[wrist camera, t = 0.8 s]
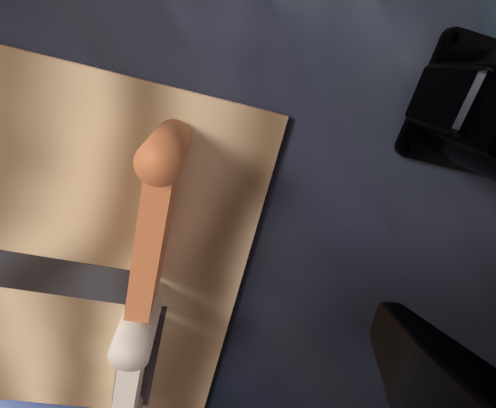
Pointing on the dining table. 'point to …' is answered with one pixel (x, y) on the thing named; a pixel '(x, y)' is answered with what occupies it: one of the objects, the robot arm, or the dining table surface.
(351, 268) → the dining table surface
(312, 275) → the dining table surface
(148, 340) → the fence fixed
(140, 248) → the gate panel
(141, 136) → the card
